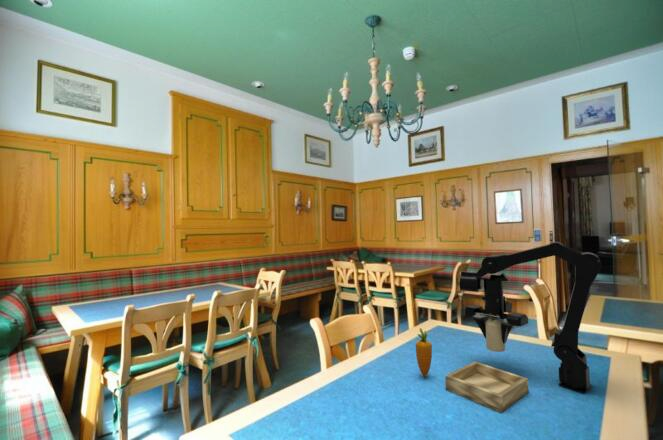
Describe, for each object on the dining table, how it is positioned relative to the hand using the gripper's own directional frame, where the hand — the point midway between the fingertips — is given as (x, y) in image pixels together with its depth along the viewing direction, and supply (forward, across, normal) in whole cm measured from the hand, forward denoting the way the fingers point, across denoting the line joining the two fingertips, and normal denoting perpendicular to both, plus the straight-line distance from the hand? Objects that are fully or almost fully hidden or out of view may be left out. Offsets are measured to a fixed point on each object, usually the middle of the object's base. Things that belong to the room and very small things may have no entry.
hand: (495, 341), depth 109 cm
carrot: (+10, +12, +22) cm, 27 cm away
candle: (+3, 0, 0) cm, 3 cm away
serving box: (+9, -5, +16) cm, 19 cm away
